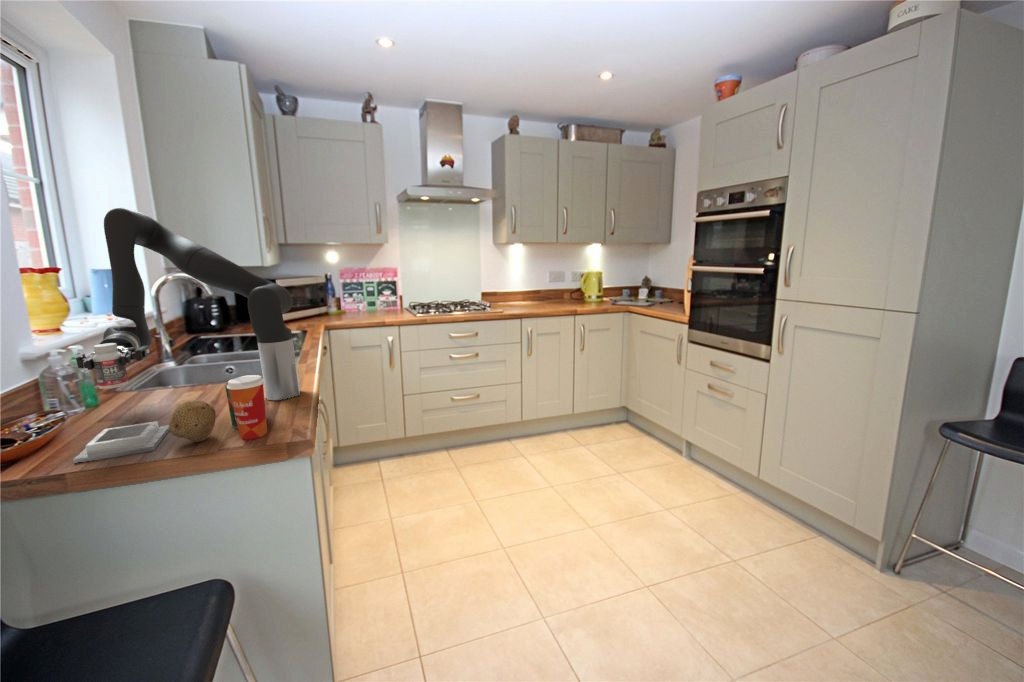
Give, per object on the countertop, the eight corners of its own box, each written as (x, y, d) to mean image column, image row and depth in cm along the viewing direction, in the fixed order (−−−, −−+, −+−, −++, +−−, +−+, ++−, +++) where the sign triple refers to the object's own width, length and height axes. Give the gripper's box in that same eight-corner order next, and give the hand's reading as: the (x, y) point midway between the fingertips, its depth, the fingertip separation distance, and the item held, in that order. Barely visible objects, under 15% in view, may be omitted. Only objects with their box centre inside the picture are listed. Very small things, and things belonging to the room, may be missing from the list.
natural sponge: (173, 454, 101) (164, 411, 99) (172, 441, 108) (164, 400, 106) (221, 442, 107) (214, 401, 105) (218, 430, 114) (211, 392, 112)
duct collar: (170, 428, 116) (168, 417, 116) (154, 450, 104) (151, 437, 103) (100, 439, 111) (97, 427, 110) (74, 463, 98) (70, 450, 98)
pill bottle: (109, 390, 103) (99, 347, 101) (92, 388, 105) (82, 346, 103) (134, 383, 108) (125, 342, 106) (119, 381, 110) (110, 341, 108)
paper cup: (227, 439, 108) (217, 382, 105) (256, 427, 115) (247, 373, 112) (251, 443, 105) (242, 385, 102) (279, 430, 112) (271, 375, 109)
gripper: (77, 338, 112) (58, 351, 98) (151, 331, 120) (143, 342, 106) (84, 368, 114) (67, 385, 100) (156, 359, 122) (150, 373, 108)
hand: (106, 362), depth 103 cm, fingers closed on pill bottle, 5 cm apart
